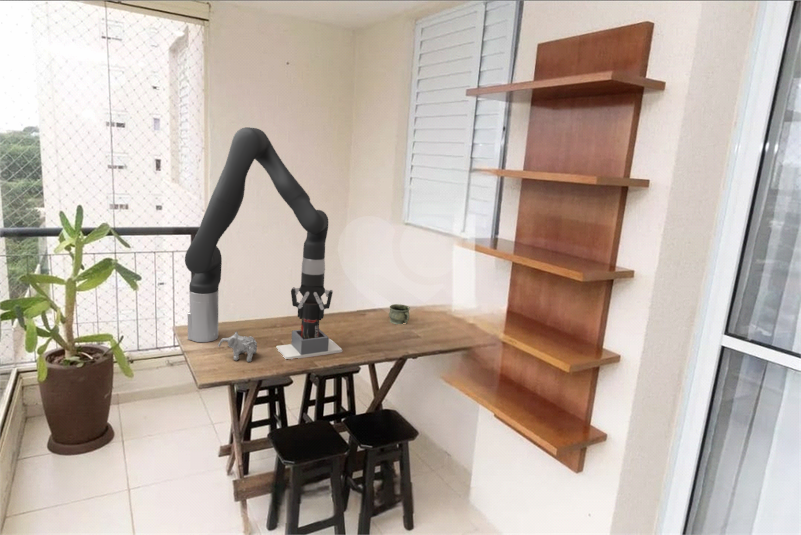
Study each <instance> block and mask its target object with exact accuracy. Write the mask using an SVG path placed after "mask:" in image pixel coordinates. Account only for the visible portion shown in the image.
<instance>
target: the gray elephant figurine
mask: <svg viewBox="0 0 801 535" xmlns="http://www.w3.org/2000/svg"><path fill="white" fill-rule="evenodd" d="M223 342H227V346H228V347H229V348H232V352H233V361H238V360H239V359H240V357H239V356H240V355H241V354H245V353H246V354H247V356H246V361H247V362H248V363H251V362H252V359H253V355H256V354H257V350H258V342H257V341H256V339H255V337H253V336H251V335H250V336H246V335H244V336H242V335H239V333H238V331H235V332H234V334H232V335H231V336H230V337H223V338H221V339H220V340H219V343H217V346H218V347H219V348H220V347H221V345H222V343H223Z"/></svg>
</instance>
